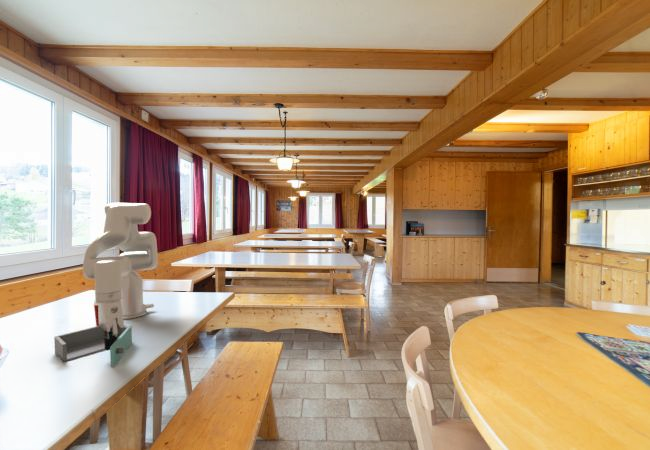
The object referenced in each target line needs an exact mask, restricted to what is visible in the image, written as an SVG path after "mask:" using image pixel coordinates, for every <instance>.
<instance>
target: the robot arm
mask: <svg viewBox="0 0 650 450" xmlns="http://www.w3.org/2000/svg"><path fill="white" fill-rule="evenodd" d="M151 209H152V208H151V206H150V205H149V203H144V202H143V203H141V202H139V203H138V202H133V203H132V202H110V203H108V204H106V205H105V207H104V213H105V216H106V217H105V221H104V228H103V234H102V235H100V236H99V237H97V238H95V240H93V241H92V242H91V243H90V244H89V245H88V247H87V248H86V250H85V253H84V257H83V261H82V274H83V277H84V278H86V279H88V280H94V295H95V297H94V298H95V299H94V301H95V302H96V303H99V305H98V318H99V326H100V327H101V328H102V329H104V337H105V338H104V343H105V350H104V351H108V352H109V351H110V347H111V346H112V344H113V343H114V342H115V341H116V340H117V334H118V331H117V327H119V328H121V329H122V328H123V327H124V325H125V323H124V322H125V321H124V320H128V319H129V320H130V319H135V318H139V317H142V316H145V315H146V314H147V313H148V309H150V308H154V307H155V305H154V303H150V304H149V303H146V304H145V303H144V293H143V291H144V288H143V287H144V285H143V284H144V283H143V278H142V276H141V275H140V273H138V272H139V271H149V270H155V269H156V268H157V267H158V264H159V259H158V257H159V255H158V245H157V237H156V234H155V233H154V232H152V231H139V226H138V225H145V224H147V223H149V221H150V219H151V217H152V210H151ZM114 247H118V248H119V250H120V251H121V253H120V254H119V255H118V256H107V257H106V256H103V257H101V256H100V257H99V255H100V254H102V253H103V252H104V251H107V250H109V249H112V248H114Z"/></svg>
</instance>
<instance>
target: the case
mask: <svg viewBox="0 0 650 450" xmlns="http://www.w3.org/2000/svg"><path fill="white" fill-rule="evenodd" d="M127 327H128V325H126V324H124V327H123V328H122V329H121V328H119V327H117V331H118V334H117V339H118V338H119V336H120V335H121V334H122V333H123V332H124V331H125V330H126V328H127ZM53 338H54V353H55V355H56V356H57V357H58V359H60V360H61V362H62V363H66V362H69V361H72V360H76V359H78V358H81V357H82V358H83V357H86V356H89V355H92V354H96V353H99V352H103V351H106V350H105V343H104V338H105V337H104V329H102V328H101V327H100V326H96V325H95V326H93V327H89V328H84V329H80V330H77V331H73V332H68V333H64V334H59V335H54V337H53Z"/></svg>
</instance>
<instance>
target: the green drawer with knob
mask: <svg viewBox="0 0 650 450" xmlns="http://www.w3.org/2000/svg"><path fill="white" fill-rule="evenodd" d="M132 344H133V326H132V325H127V328H126V330H125V331H124V332H123V333H122V334H121V335H120V336H119V338H118V339H117V340H116V341H115V342H114V343H113V344H112V346H111V347H110V350H109V353H110V357H109V358H110V367H111V368H112V367H113V368H114V367H115V366H116V365H117V364H118V362H119V361H120V360H121V359H122V357H123V356H124V354H125V353H126V351H127V350H128V349H129V347H130V346H131V345H132Z"/></svg>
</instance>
